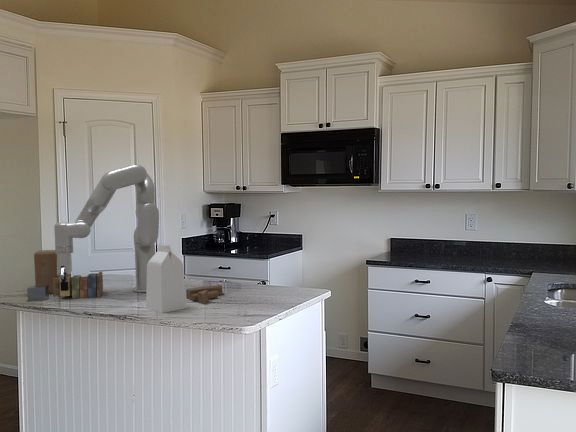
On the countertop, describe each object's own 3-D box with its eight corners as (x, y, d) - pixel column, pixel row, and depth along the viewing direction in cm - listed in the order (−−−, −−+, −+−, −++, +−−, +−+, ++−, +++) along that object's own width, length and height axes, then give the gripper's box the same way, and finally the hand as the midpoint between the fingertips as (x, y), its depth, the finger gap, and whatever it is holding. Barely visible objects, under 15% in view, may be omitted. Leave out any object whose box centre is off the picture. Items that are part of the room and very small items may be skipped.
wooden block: (35, 295, 257) (33, 252, 255) (39, 291, 266) (37, 250, 265) (58, 293, 259) (56, 251, 258) (61, 289, 269) (59, 249, 268)
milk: (146, 308, 223) (143, 245, 222) (170, 303, 231) (168, 242, 230) (161, 313, 215) (159, 247, 213) (186, 307, 223) (184, 244, 221)
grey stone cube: (49, 297, 250) (48, 284, 250) (45, 300, 244) (45, 287, 244) (31, 298, 249) (30, 285, 248) (27, 301, 243) (27, 288, 242)
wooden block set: (183, 287, 241) (219, 282, 252) (184, 299, 242) (220, 294, 252) (201, 292, 227) (238, 286, 238) (201, 305, 228) (239, 299, 238)
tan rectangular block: (72, 293, 252) (71, 273, 252) (69, 295, 246) (68, 275, 246) (62, 293, 251) (62, 274, 251) (60, 296, 245) (59, 276, 245)
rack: (103, 292, 260) (102, 271, 259) (99, 297, 249) (99, 275, 248) (53, 295, 255) (52, 273, 255) (48, 300, 244) (47, 277, 244)
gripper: (59, 248, 255) (61, 286, 256) (51, 252, 238) (53, 293, 239) (76, 247, 257) (78, 285, 258) (69, 251, 240) (71, 292, 241)
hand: (66, 288), depth 249 cm, fingers closed on tan rectangular block, 6 cm apart
